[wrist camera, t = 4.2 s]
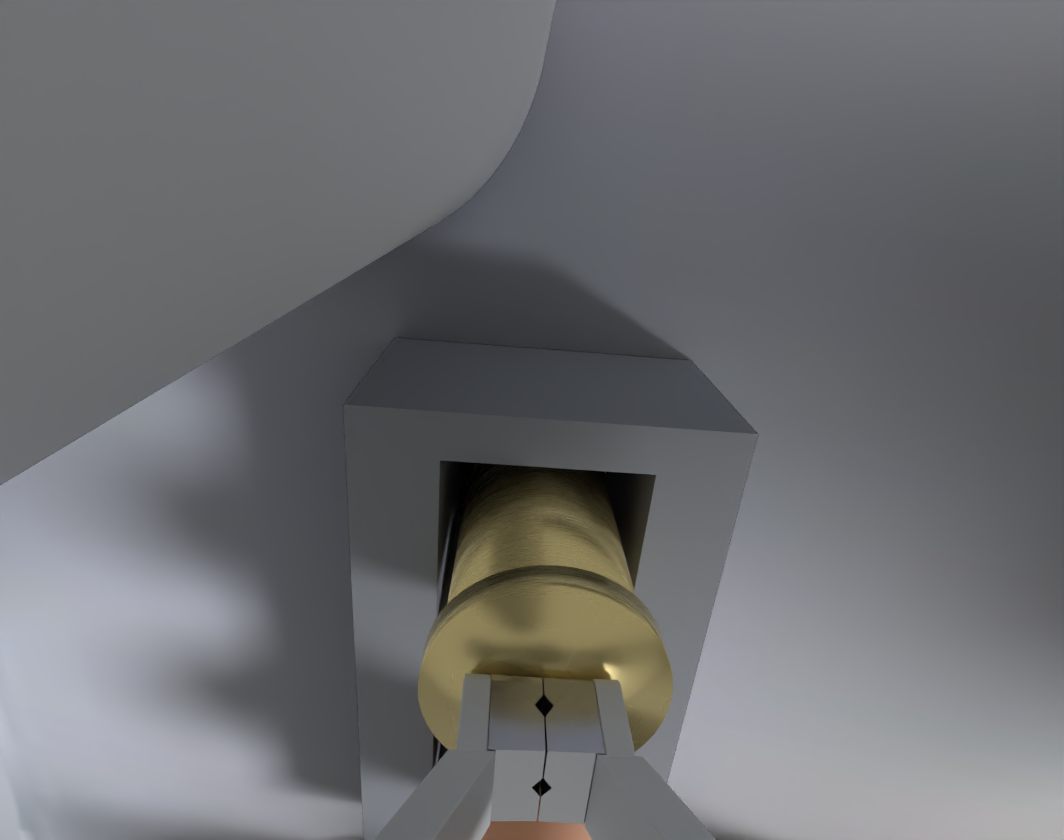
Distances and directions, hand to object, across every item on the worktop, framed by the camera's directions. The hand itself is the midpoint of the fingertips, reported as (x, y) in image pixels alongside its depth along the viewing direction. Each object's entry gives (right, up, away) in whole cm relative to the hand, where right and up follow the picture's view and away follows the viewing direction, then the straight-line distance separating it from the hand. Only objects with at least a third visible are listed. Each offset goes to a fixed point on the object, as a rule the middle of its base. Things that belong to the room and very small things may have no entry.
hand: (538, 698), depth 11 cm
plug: (0, +3, +7) cm, 8 cm away
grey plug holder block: (-1, -3, +13) cm, 13 cm away
